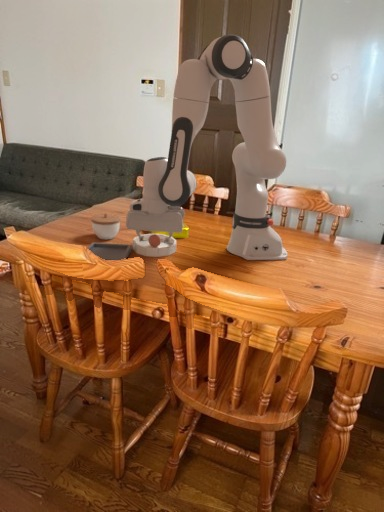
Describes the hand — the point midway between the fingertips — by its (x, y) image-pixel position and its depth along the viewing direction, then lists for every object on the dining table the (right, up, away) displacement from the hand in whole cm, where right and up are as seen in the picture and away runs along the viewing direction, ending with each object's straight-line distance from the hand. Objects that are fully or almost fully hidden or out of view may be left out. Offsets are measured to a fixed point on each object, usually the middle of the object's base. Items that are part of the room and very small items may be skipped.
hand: (154, 242), depth 127 cm
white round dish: (0, -2, +1) cm, 3 cm away
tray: (-15, -5, -8) cm, 18 cm away
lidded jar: (-20, +2, +10) cm, 22 cm away
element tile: (+3, +4, +19) cm, 20 cm away
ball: (0, +1, 0) cm, 1 cm away
